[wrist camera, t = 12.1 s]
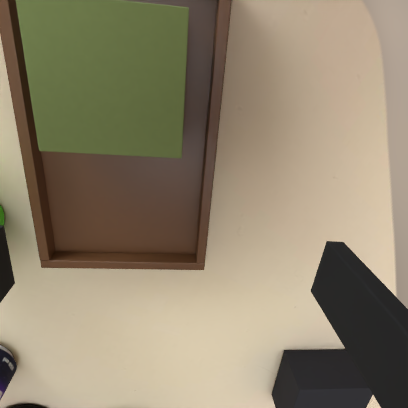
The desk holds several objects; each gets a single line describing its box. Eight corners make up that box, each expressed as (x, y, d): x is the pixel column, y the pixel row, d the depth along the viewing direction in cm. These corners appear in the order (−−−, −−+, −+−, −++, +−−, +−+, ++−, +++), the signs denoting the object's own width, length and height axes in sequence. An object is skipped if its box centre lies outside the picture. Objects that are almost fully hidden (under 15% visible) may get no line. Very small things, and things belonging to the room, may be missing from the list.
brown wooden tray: (2, -43, 19) (-16, -55, 17) (228, -15, 20) (234, -23, 19) (49, 255, 28) (41, 267, 26) (202, 258, 30) (204, 270, 28)
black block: (352, 349, 38) (376, 387, 33) (334, 392, 41) (353, 432, 36) (284, 350, 36) (299, 390, 32) (271, 394, 40) (283, 435, 35)
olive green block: (186, 20, 21) (189, 7, 16) (180, 141, 24) (181, 158, 20) (51, 6, 20) (13, -12, 15) (65, 134, 23) (38, 151, 19)
